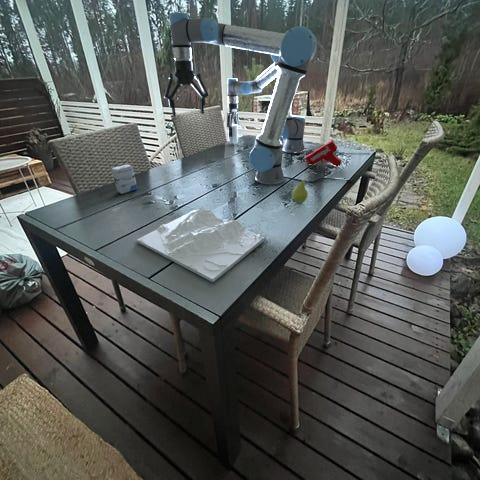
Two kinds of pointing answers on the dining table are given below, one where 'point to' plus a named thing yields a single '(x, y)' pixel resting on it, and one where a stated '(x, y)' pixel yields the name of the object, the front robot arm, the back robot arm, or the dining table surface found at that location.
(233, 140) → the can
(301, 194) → the fruit
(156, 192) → the dining table surface
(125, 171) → the ink box
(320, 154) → the toy gun
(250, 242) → the relief map
